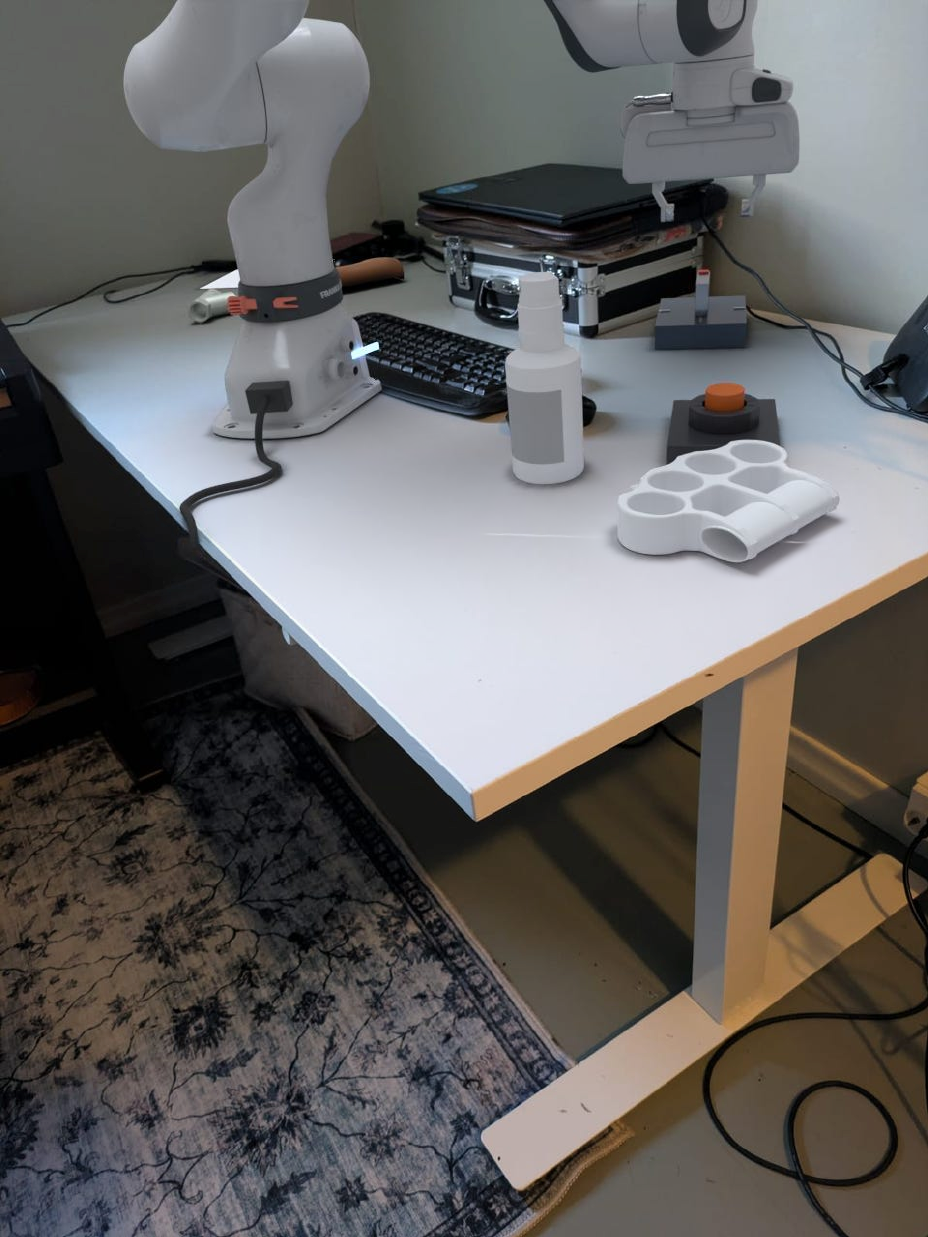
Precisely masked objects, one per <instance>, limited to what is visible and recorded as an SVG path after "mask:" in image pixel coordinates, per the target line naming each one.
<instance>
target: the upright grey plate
mask: <svg viewBox="0 0 928 1237" xmlns="http://www.w3.org/2000/svg"><path fill="white" fill-rule="evenodd" d="M710 282H711V271H710V269H698V271H697V273H696V280H695V290H694V292H695V293H694V294H695V296H694V297H695V317H703V316H708V304H709V297H710Z"/></svg>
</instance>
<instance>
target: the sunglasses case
mask: <svg viewBox="0 0 928 1237" xmlns="http://www.w3.org/2000/svg"><path fill="white" fill-rule="evenodd" d="M335 267H336V266H335ZM336 268H337V269H338V272H339V277H340V279H341V283H342V288H344V287H350V286H351V287H352V286H357V285H363V284H366V283H370V282H371V283H373V282H378V281H382V280H389V279H392V278H396V279H398V280H403V281H405V276H406V275H405V270H404V266H403V264H402V262H401V261H400V260H399V259H398V258H395V257H385V256H384V257H375V258H369V259H365V260H362V261H360V262H357V263H353V264H347V265H343V266H337V267H336Z"/></svg>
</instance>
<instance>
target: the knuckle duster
mask: <svg viewBox="0 0 928 1237" xmlns="http://www.w3.org/2000/svg"><path fill="white" fill-rule="evenodd" d="M788 460H789V455H788V452H787V451H786V449H785V448H783V447H782V446H781V445H780V446H779V445H776V444H774V443H770V442H766V441H760V440H737V441H731V442H729V443H728V444H727V445H725V446H723V447H721V448H717V449H713V450H707V451H695V452H692V453H688V454H685V455H681V456H678V457H677V458H676V459H675V460H674V461H673V462H672V463H670V464H668V465H666V464H665V465H663V466H658V467H653V468H650V470H648V471H647V472H646V473H644V474H643V475H642V476H641V477H640V480H639V483H637V484H634V485H631V486H628V489H630V491H628V492H624V493H621V494H620V495H619V496H618V498H617V500H616V501H617V502H616V516H617V517H616V521H617V522H616V523H617V524H616V525H617V527H616V528H617V529H616V531H617V534H616V535H617V539H618V542H619V543H620V544H621V545H622V546H623V547H625V548H626V549H628V550H630V551H632V552H635V553H638V554H643V555H652V556H661V555H671V554H675V553H679V552H685V551H686V552H702V553H703V554H705V555H708V556H711V557H713V558H716V559H719V560H723V561H727V562H731V563H742V562H745V561H748V560H753V559H754V558H756V557H757V555H758V554H759V553H761V552H763V551H764V550H766V549H767V548H769V547H771V546H772V545H775V544H776V543H778V542H780V541H782V540H783V539H785V538H787V537H788V536H792V535H794V534H796V533H798V531H799V530H800V529H802V528H803V527H805V526H807V525H809V524H810V523H812V522H814V521H816V520H817V519H819V518H820V517H823V516H824V515H826V514H827V513H831V512H833V511H835V510H837V507H838V506H839V504H840V502H841V501H840V500H841V499H840V494H839V493H838V491H837V489H835V487H833V486H832V485H831V484H830V483H828V482H827V481H825V480H824V479H822V478H819V477H817V476H815V475H813V474H810V473H809V472H805V471H802V470H799V469H796V468H791V467H789V466H788Z"/></svg>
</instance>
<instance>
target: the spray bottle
mask: <svg viewBox="0 0 928 1237" xmlns="http://www.w3.org/2000/svg"><path fill="white" fill-rule="evenodd" d="M559 282H560V281H559V278H558V277H557V276H556V275H555V274H554V273H553V272H552V271H537V272H530V273H526V274H522V275H520V276H519V277H518V287H519V297H518V303H517V318H518V329H517V332H518V347H517V348H515V349H514V350H513V351H511V352H510V353H509V354H508V355H507V356H506V357H505V363H504V368H505V382H506V383H505V384H506V394H507V409H508V410H507V411H508V419H509V421H508V423H509V436H510V445H511V446H510V447H511V459H512V461H511V462H512V472H513V473H514V475H515V476H516V478H517V479H518V480H520V481H522V482H524V483H529V484H532V485H557V484H560V483H566V482H569V481H570V480H574V479H575V478H577V477H579V476H580V475H581V474H582V472H583V471H584V468H585V454H584V420H583V419H584V418H583V386H582V385H583V384H582V359H581V358H582V357H581V353H580V351H578V350H577V348H575V347H574V346H572V345H570V344H568V343H566V342H565V325H564V319H563V318H564V317H563V316H564V315H563V300H562V299H561V293H560V285H559Z"/></svg>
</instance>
